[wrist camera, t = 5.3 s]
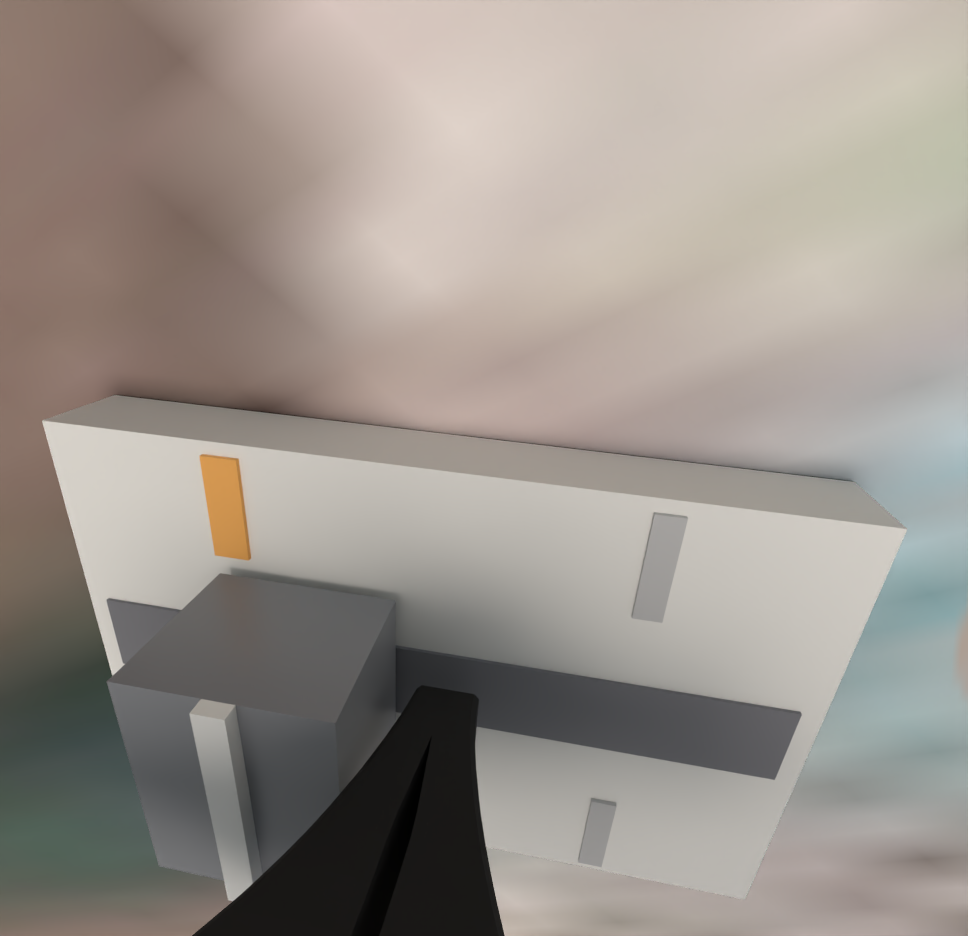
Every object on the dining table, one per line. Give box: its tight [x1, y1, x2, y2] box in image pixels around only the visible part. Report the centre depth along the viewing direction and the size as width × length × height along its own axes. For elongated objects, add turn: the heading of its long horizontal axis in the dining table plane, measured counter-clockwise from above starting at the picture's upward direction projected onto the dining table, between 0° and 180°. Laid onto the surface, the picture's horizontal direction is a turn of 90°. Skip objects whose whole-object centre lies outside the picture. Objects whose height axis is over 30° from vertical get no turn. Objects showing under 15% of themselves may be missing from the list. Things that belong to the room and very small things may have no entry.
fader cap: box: [107, 573, 396, 901], centre depth 11 cm, size 4×5×4 cm
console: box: [42, 395, 907, 900], centre depth 14 cm, size 17×11×2 cm, turn 86°
